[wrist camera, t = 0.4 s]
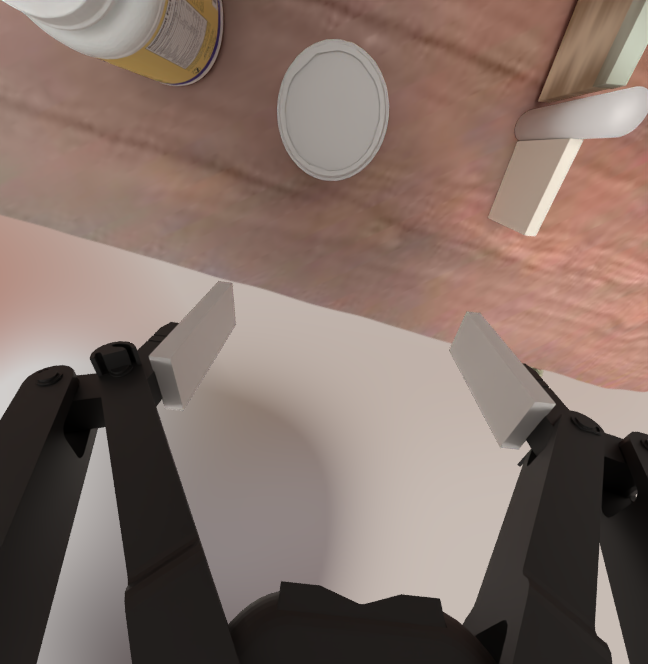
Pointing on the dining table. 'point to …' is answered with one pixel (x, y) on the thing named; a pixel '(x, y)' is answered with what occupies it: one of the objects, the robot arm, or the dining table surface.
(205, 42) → the supplement tub
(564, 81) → the gate
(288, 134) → the disposable coffee cup
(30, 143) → the dining table surface
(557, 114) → the fence
